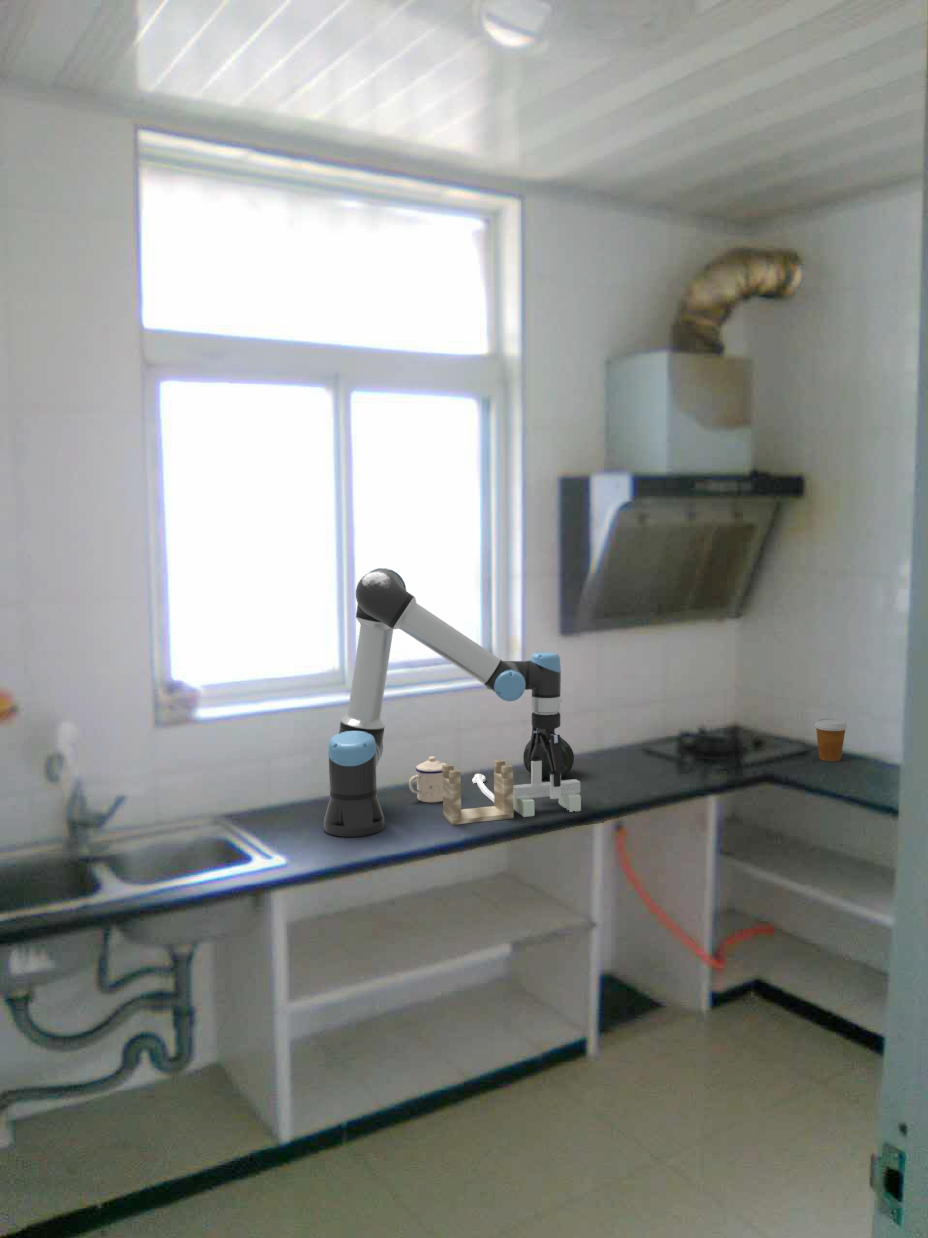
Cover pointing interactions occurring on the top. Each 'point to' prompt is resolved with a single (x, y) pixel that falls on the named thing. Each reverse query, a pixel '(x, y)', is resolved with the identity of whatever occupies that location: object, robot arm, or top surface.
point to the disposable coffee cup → (830, 738)
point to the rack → (496, 812)
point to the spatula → (479, 780)
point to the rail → (544, 789)
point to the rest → (567, 801)
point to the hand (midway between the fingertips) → (545, 791)
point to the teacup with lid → (429, 781)
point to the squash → (546, 769)
